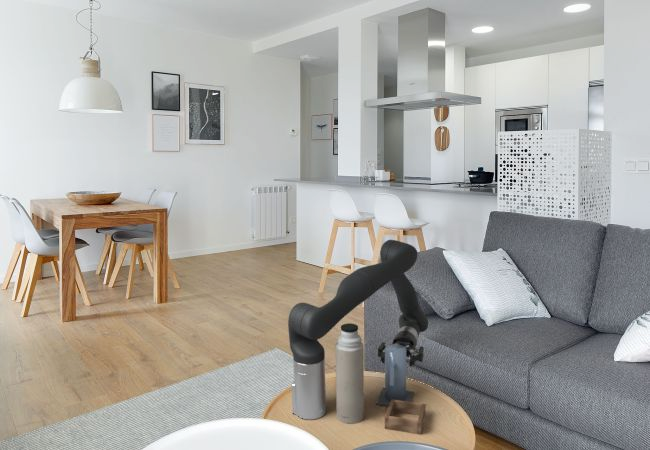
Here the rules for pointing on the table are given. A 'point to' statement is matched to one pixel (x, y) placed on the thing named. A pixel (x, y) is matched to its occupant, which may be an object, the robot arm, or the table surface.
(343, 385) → the thermos bottle
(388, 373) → the jug
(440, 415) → the table surface
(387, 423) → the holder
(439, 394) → the table surface
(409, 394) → the mat
